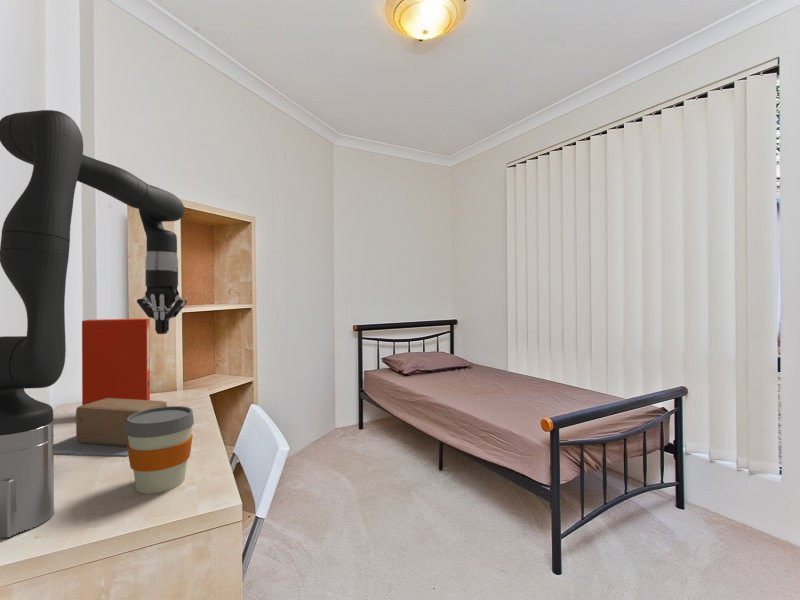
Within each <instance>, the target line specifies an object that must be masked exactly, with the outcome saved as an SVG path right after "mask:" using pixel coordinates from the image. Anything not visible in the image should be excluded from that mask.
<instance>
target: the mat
mask: <svg viewBox="0 0 800 600" xmlns="http://www.w3.org/2000/svg"><path fill="white" fill-rule="evenodd" d="M53 451H54V455H58V456H59V455H62V456H63V455H65V456H69V455H70V456H96V457H97V456H100V457H129V455H128V449H127V446H118V445H105V444H92V443H80V442H77V440H76V435H74V436H72V437H69V438H67V439H64V440H62V441H59V442H57V443H53Z"/></svg>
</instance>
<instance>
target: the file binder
mask: <svg viewBox="0 0 800 600" xmlns="http://www.w3.org/2000/svg"><path fill="white" fill-rule="evenodd" d="M150 321H151V320H150V318H113V319H111V318H108V319H107V318H106V319H105V318H104V319H103V318H102V319H100V318H99V319H85V320H84V319H83V320H82V321H81V356H82V357H81V373H82V374H81V381H82V382H81V387H82V388H81V392H82V393H81V396H82V398H81V399H82V400H81V401H82V402H81V403H82V405H85V404H89V403H92V402H95V401H99V400H102V399H106V398H117V399H135V400H150V399H151V398H150V397H151V395H150V394H151V393H150V392H151V389H150V388H151V387H150V386H151V385H150V384H151V382H150V381H151V377H150V375H151V374H150V373H151V370H150V367H151V365H150V363H151V361H150V357H151V355H150V354H151V353H150V350H151V349H150V345H151V344H150V343H151V342H150V339H151V337H150V336H151V334H150V332H151V330H150V328H151V325H150ZM82 405H81V406H82Z"/></svg>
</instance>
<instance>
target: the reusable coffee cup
mask: <svg viewBox="0 0 800 600" xmlns="http://www.w3.org/2000/svg"><path fill="white" fill-rule="evenodd" d="M193 411H194V410H193V408H192V407H188V406H181V405H179V406H178V405H171V406H170V405H169V406H167V407H159V408H153V409H148V410H144V411H140V412H137V413H135V414H132V415H131V416H129V417H128V418H127V424H126V434H127V435H128V440H129V444H128V445H127V449H128V460H129V461H128V462H129V466H130V469H131V470H133V477H134V483H135V489H136V492H137V493H140V494H145V495H147V494H148V495H151V494H152V495H153V494H160V493H163V492H164V493H165V492H167V491H171V490H173V489H176V488H177V487H179V486H180V485H182V484H183V483H184V482H185V480H186V479H185V478H186V472H187V463H188V459H189V458H190V456H191V452H192V451H191V450H192V444H193V443H192V442H193V433H192V428H193V425H194V423H195V419H194V414H193V413H194V412H193Z"/></svg>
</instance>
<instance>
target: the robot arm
mask: <svg viewBox="0 0 800 600" xmlns="http://www.w3.org/2000/svg"><path fill="white" fill-rule="evenodd" d="M0 144H1V145H2V147H3V148H5V149H6V151H7V152H8V153H9V154H11V155H12V156H13V157H15V158H16V159H17V160H20V161H22V162H24V163H27V164H29V165H31V166H33V167H32V172H31V177H30V179H29V182H28V184H27V186H26V187H25V189H24V190H23V192H22V193H21V194H20V196H19V198H18V199H17V200H16V202H14V205H13V206H12V208H11V209H10V210H9V212H8V214H7V215H6V217H5V219H4V221H3V225H2V229H1V237H0V266H1V268H2V271H3V272H4V274H5V277H7V279H8V280H9V282H10V284H12V286H13V287H14V290H15V291H16V292H17V293H18V295H19V297H20V298H21V300H22V302H23V304H24V307H25V311H26V319H27V320H26V321H27V326H26V327H27V329H26V336H25V335H24V336H23V335H21V336H20V335H19V336H18V335H17V336H16V335H14V336H13V335H12V336H0V539H6V538H5V537H10V538H12V537H13V536H14V535H13V534H15V533H17V534H19V533H18V532H20V533H22V532H21V531H23V532H25V531H24V530H26V531H29V530H30V529H33V527H34V528H36V527H39V525H40V526H41V525H42V524H43V523H45V522H47V521H48V520H50V518H52V517H53V515H54V513H55V488H54V487H55V480H54V477H55V476H54V475H55V473H54V472H55V471H54V469H55V468H54V465H55V464H54V455H55V454H54V451H53V445H54V408H53V407H52V406H51V405H50V404H48V403H45V402H42V401H39V400H37V399H35V398H33V397H31V396H30V395H28V393H26V391H25V389H43V388H44V389H45V388H48V387H51V386H53V385H54V384H56V383H57V381H58V380H59V379H60V378H61V375H62V373H63V371H64V367H65V363H66V356H67V355H66V353H67V352H66V351H67V345H66V343H67V342H66V322H65V319H66V317H65V316H66V315H65V308H66V307H65V301H66V299H65V298H66V286H67V285H66V284H67V273H68V267H69V265H68V264H69V256H70V247H71V246H70V245H71V243H70V242H71V226H72V225H71V224H72V218H73V217H72V216H73V208H74V207H73V206H74V198H75V193H76V187H77V182H78V183H82V184H84V185H85V186H89V187H91V188H93V189H96V190H98V191H99V192H102V193H104V194H106V195H108V196H110V197H111V198H113V199H115V200H118V201H119V202H121V203H123V204H125V205H126V206H129V207H131V208H133V209H138V213H139V216H140V220H141V223H142V226H143V230H144V233H145V236H146V253H145V262H144V263H145V265H144V267H145V273H144V274H145V287H146V291H145V292H144V296H143V297H142V298H138V299H136V303H137V304H138V305H139V307H140V308H141V309H142V311H143V312H144V313H145V314H146V317H148V318H151V319H154V323H155V324H154V325H155V329H154V331H155V332H156V334H157V335H165V334H166V335H167V334H168V332H169V331H170V326H169V325H170V320H171V319H172V318H177V316H178V315H179V313H180V312H181V311H182V310H183V308H184V307H185V305H186V304H187V303H188V300H187V299H185V298H182V297H181V296H180V293H179V291H178V286H179V258H178V236H177V234H176V233H175V232H174V231H172V230H167V229H165V228H164V225H163V223H165V222H176V221H179V220H181V219H182V218H183V217H184V215H185V205H184V203H183V201H182V200H181V199H180V198H179V197H178V196H177V195H175V194H173V193H172V192H169V191H168V190H165V189H163V188H159V187H158V186H154V185H152V184H148V183H147V182H145V181H144V180H142V179H141V178H139V177H137V176H136V175H134V174H133V173H131V172H129V171H128V170H125V169H124V168H121V167H119V166H116V165H113V164H111V163H108V162H104V161H102V160H99V159H96V158H93V157H90V156H88V155H85V154H84V138H83V135H82V132H81V129H80V127H79V126H78V125H77V123H76V121H74V119H73V118H72V117H71V116H70V115H68V114H66V113H64V112H63V111H59V110H52V109H43V110H42V109H40V110H34V111H22V112H14V113H11V114H7V115H5V116H4V117H1V119H0ZM28 529H29V530H28ZM12 535H13V536H12ZM15 535H16V534H15ZM11 536H12V537H11Z"/></svg>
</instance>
